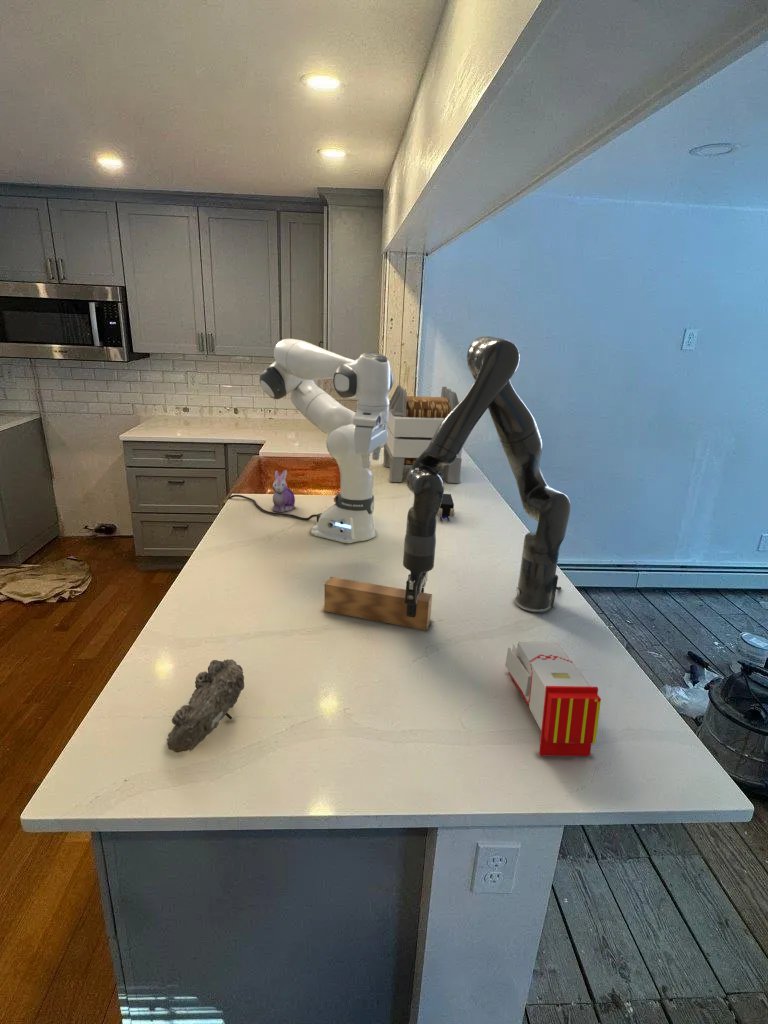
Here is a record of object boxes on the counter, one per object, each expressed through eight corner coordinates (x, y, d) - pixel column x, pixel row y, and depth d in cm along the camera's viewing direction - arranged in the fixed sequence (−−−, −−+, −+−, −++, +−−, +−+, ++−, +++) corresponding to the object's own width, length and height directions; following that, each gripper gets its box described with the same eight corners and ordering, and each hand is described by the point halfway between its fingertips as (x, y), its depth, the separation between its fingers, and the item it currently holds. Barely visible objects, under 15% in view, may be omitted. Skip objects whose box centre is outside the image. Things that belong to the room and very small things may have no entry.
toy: (554, 624, 127) (610, 694, 97) (548, 679, 130) (602, 763, 100) (500, 623, 126) (541, 693, 97) (496, 678, 129) (534, 763, 100)
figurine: (275, 514, 213) (275, 475, 208) (268, 505, 221) (266, 468, 216) (299, 511, 217) (299, 473, 212) (291, 502, 225) (290, 466, 220)
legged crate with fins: (382, 463, 289) (386, 382, 275) (445, 464, 293) (451, 384, 279) (390, 482, 257) (394, 392, 243) (460, 483, 261) (468, 394, 247)
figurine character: (454, 527, 212) (449, 509, 225) (456, 508, 209) (451, 492, 222) (436, 526, 212) (433, 508, 225) (438, 508, 208) (434, 491, 222)
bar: (324, 611, 147) (324, 584, 145) (330, 603, 151) (330, 576, 149) (426, 630, 141) (428, 602, 138) (430, 621, 145) (432, 594, 142)
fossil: (192, 660, 117) (244, 628, 112) (224, 691, 120) (276, 661, 115) (142, 746, 98) (202, 712, 93) (182, 779, 101) (242, 748, 96)
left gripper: (372, 408, 166) (370, 454, 171) (350, 419, 147) (349, 471, 152) (393, 409, 164) (391, 456, 169) (373, 421, 146) (372, 473, 150)
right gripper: (428, 562, 129) (423, 625, 135) (440, 540, 142) (435, 598, 148) (397, 557, 131) (393, 619, 136) (411, 536, 144) (407, 593, 149)
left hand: (371, 463), depth 160 cm, fingers open, 8 cm apart
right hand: (414, 608), depth 142 cm, fingers open, 8 cm apart
